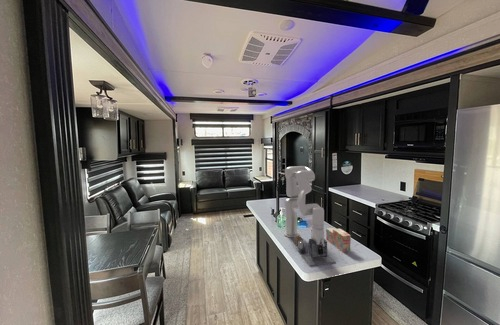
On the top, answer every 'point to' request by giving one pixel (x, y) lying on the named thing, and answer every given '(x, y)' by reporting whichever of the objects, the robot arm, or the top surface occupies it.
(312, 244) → the small box
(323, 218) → the robot arm
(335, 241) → the stack of blocks
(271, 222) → the top surface
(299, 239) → the walnut block
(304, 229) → the top surface
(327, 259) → the slate board
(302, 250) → the metallic grey egg
